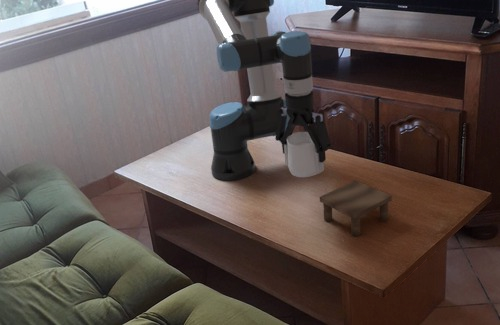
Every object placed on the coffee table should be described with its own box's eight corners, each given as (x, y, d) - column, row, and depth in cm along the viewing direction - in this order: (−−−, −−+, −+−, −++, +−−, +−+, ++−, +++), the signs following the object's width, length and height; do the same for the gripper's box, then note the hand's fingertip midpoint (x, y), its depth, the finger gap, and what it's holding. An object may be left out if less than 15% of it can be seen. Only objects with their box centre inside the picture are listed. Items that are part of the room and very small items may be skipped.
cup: (303, 181, 160) (301, 148, 156) (280, 171, 168) (277, 139, 164) (329, 169, 165) (327, 137, 161) (305, 159, 173) (303, 128, 169)
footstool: (320, 219, 171) (319, 196, 168) (355, 202, 178) (355, 180, 175) (356, 238, 160) (355, 214, 157) (391, 219, 167) (391, 195, 164)
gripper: (257, 91, 161) (265, 165, 171) (326, 101, 147) (331, 182, 157) (274, 82, 166) (281, 155, 176) (342, 92, 152) (346, 170, 162)
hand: (304, 168), depth 166 cm, fingers closed on cup, 10 cm apart
